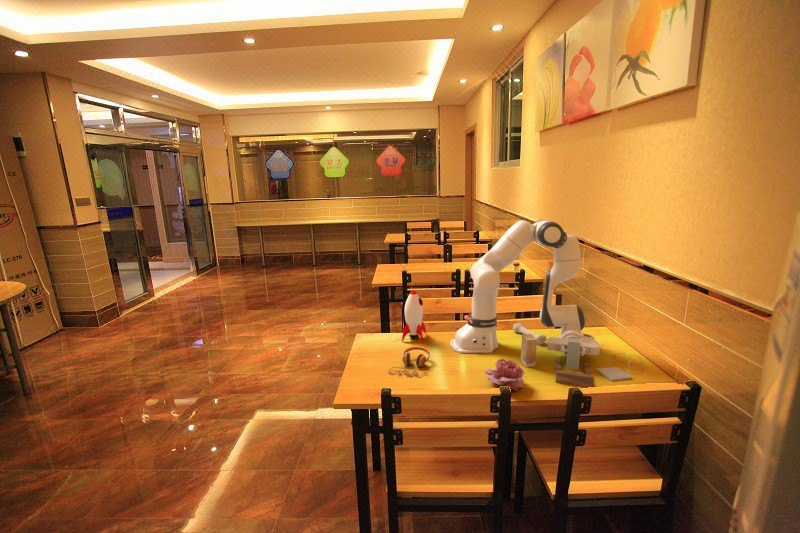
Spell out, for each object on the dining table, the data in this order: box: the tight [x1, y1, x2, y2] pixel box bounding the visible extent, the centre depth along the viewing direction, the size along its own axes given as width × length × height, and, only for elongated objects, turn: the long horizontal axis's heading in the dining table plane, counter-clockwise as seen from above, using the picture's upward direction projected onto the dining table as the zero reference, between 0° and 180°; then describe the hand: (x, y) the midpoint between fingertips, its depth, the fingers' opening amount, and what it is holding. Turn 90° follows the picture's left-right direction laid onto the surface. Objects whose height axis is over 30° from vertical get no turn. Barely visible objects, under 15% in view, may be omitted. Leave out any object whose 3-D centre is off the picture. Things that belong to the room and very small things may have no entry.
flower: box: [484, 358, 526, 392], centre depth 152 cm, size 15×15×10 cm
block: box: [565, 338, 581, 372], centre depth 165 cm, size 4×4×12 cm
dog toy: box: [512, 322, 547, 346], centre depth 197 cm, size 20×6×5 cm, turn 21°
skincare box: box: [520, 334, 538, 368], centre depth 169 cm, size 6×4×12 cm
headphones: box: [388, 345, 431, 378], centre depth 170 cm, size 17×5×20 cm
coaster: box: [595, 366, 633, 382], centre depth 159 cm, size 9×9×1 cm
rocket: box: [401, 289, 427, 343], centre depth 198 cm, size 11×11×25 cm
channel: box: [554, 359, 595, 388], centre depth 160 cm, size 18×13×4 cm
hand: (573, 353), depth 164 cm, fingers closed on block, 4 cm apart
